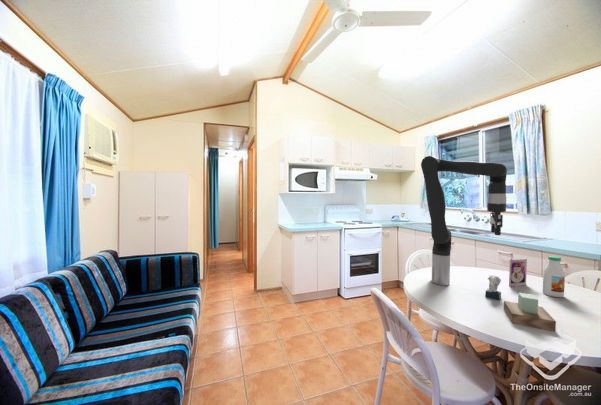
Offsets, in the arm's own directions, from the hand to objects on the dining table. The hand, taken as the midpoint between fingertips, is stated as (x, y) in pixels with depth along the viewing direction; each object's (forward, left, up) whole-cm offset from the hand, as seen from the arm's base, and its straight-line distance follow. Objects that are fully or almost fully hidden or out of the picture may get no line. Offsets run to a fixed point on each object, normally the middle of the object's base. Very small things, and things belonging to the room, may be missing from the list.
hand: (495, 233), depth 125 cm
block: (+7, -24, -28) cm, 38 cm away
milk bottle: (+27, +14, -32) cm, 44 cm away
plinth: (+7, -24, -32) cm, 41 cm away
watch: (-1, -4, -32) cm, 33 cm away
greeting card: (+13, +24, -32) cm, 42 cm away
